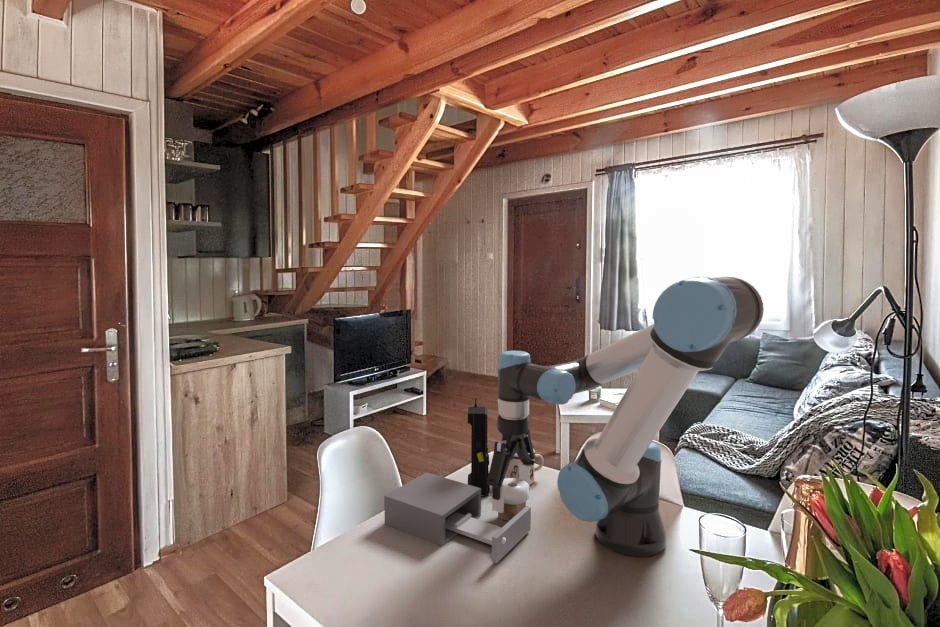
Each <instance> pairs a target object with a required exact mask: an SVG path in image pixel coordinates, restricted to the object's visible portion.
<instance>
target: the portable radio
mask: <svg viewBox="0 0 940 627" xmlns="http://www.w3.org/2000/svg"><path fill="white" fill-rule="evenodd" d="M477 399H478V398H477V397H474V406H468V407H467V408H468V410H467V424H468V425H470V426H471V431H470V432H471V435H470V436H471V440H470V441H471V442H470V443H471V446H470V447H471V448H470V449H471V452H470V453H471V454H470V455H471V459H470V460H471V461H470V462H471V465H470V468H471V470H470V471H471V472H470V473H468V475H467V484H468V485H471V486H475V487H478V488H481V496H482V495H483V497H484V496H489V494H490V493H491V489H490V487H491V486H490V485H487V479H488V475H489V471H490V467H489V466H490V454H489V447H488V409H487V408H486V406H481V405H480V406H478V404H477Z"/></svg>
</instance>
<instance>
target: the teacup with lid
mask: <svg viewBox="0 0 940 627" xmlns="http://www.w3.org/2000/svg"><path fill="white" fill-rule="evenodd" d="M533 450H534V455H535V458H540V459H539V460H540V462H539V464H538V466H536V467H535V464H534V465H530V486H531V485H532V484H533V483H534V482H535V472H537V471H540V470H541V469H542V468H543V466H544V462H545V461H544V460H545V459H544V457H543V455H541V454H539V453H536V451H535V449H534V448H533ZM505 454H506V453H505ZM528 454H530V453H528ZM533 461H534V462H535V459H534V460H533ZM520 463H522V462H521V460H520V458H519V457H518V455H517V453H516V454H515V455H514V457H513V459H512V460H510V463H509V466H508V469H507V472H506V475H505V478H517V479H519V464H520ZM522 464H523V463H522ZM505 478H504V479H505Z"/></svg>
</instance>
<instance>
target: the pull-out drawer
mask: <svg viewBox="0 0 940 627" xmlns="http://www.w3.org/2000/svg"><path fill="white" fill-rule="evenodd" d="M531 509H532V508H531V506H528V505H526V507H525V508H523V509H522V510H521V511H520V512H519V513H518V514H517V515H516V516H514V517H513V518H512V519H511V520H510V521H508V522H506V523H505V524H504V525H503V526H499V525H496V524H493V523H489V522H487V521H483V520H480V519H479V518H477V519H475V518H472V517H471V514H470V513H468V514H467V515H463V514H460V513H457V512H456V513H454V514H453V515H451V516H450V517H449V518H447V519H446V520H445V529H448V530H451V531H454V532H457V533H458V535H459V534H460V535H463V536H465V537H468V538H471V539H474V540H475V541H480V542H482V543H485V544H488V545H490V546H491V562H492V563H493V564H498V563H499V562H500V561H501V560H502V559H503V558H504V557H505V556H506V555H507V554H508V553H509V552H510V551H511V550H512V549H513V548H514V547H515V546H516V545H517V544H518V543H519V542H520V541H521V540H522V539H523V538H524V537H525V536H526V535H527V534H528V533H529V532H530V531H531V527H532V526H531V523H532V522H531V521H532V520H531V519H532V518H531V516H532V514H531V513H532V512H531V511H532V510H531Z"/></svg>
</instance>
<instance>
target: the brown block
mask: <svg viewBox="0 0 940 627" xmlns="http://www.w3.org/2000/svg"><path fill="white" fill-rule="evenodd" d="M526 506H527V501H526V502H524V503H522V504H505V503H504V512H503V513H500V512H497V518H499V519H501V520H504V521H508V522H509V521H510V520H511V519H512V518H513V517H514V516H516V515H517V514H518V513H519V512H520V511H521V510H522V509H523V508H525V507H526Z"/></svg>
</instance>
